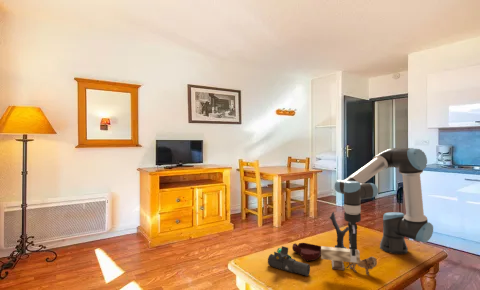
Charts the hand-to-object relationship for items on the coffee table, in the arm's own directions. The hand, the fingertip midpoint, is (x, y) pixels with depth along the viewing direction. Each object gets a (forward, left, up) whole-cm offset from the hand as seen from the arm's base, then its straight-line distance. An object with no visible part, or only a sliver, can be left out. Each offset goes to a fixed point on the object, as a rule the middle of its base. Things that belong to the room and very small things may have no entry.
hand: (352, 259), depth 133 cm
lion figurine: (-5, -8, -10) cm, 14 cm away
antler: (+4, -33, -9) cm, 34 cm away
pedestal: (+6, -12, -9) cm, 16 cm away
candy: (+36, -15, -10) cm, 40 cm away
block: (+6, 0, -1) cm, 6 cm away
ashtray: (+22, -21, -10) cm, 32 cm away
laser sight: (+32, +1, -10) cm, 33 cm away
